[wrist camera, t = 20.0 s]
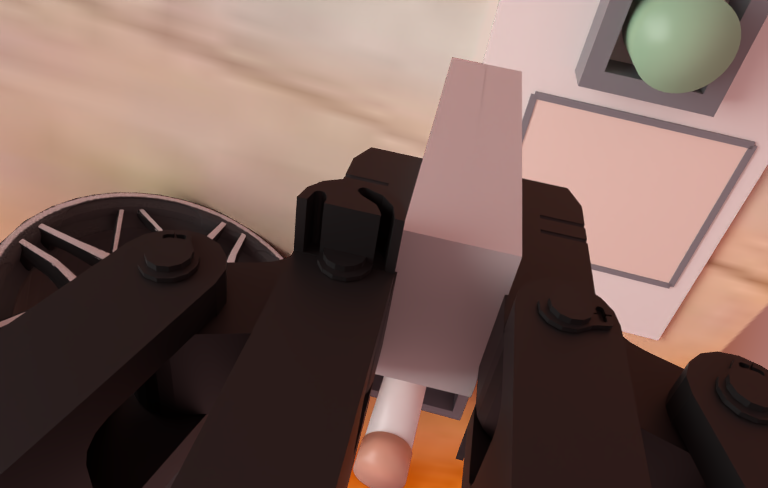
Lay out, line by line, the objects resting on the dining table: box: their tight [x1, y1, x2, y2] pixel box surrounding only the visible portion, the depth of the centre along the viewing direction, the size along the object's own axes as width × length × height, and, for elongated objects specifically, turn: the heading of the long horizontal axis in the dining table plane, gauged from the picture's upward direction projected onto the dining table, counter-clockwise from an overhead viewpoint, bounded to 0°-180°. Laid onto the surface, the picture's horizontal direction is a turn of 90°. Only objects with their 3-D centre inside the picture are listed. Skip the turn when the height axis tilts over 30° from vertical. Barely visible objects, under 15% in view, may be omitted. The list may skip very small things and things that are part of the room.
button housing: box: [575, 0, 768, 117], centre depth 29 cm, size 7×7×2 cm
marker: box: [353, 376, 426, 488], centre depth 42 cm, size 3×3×12 cm
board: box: [483, 0, 768, 340], centre depth 35 cm, size 24×17×1 cm
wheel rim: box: [0, 193, 284, 488], centre depth 38 cm, size 20×9×20 cm, turn 60°
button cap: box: [622, 0, 741, 93], centre depth 28 cm, size 4×4×4 cm
